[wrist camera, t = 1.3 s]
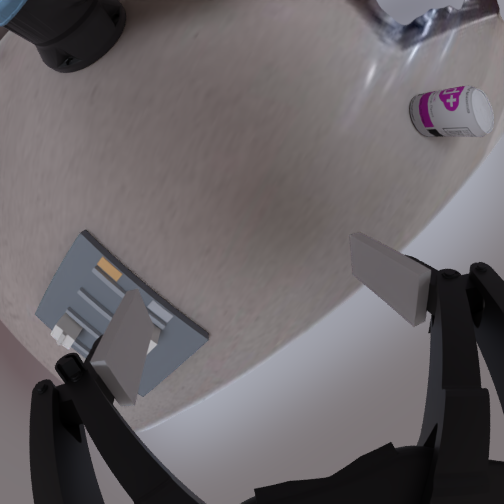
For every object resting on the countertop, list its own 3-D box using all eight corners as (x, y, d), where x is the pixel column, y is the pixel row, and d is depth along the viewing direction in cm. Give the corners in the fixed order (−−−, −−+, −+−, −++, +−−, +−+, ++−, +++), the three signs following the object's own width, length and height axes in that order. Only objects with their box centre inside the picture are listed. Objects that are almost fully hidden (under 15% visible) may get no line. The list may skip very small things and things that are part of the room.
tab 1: (59, 322, 37) (48, 336, 32) (65, 312, 36) (54, 326, 32) (76, 336, 38) (67, 352, 34) (83, 327, 38) (73, 342, 33)
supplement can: (401, 112, 37) (464, 103, 23) (418, 87, 36) (476, 75, 22) (426, 145, 39) (487, 148, 25) (441, 119, 38) (499, 117, 24)
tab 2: (130, 325, 39) (123, 342, 34) (140, 314, 38) (134, 330, 34) (150, 340, 40) (145, 357, 36) (160, 329, 40) (156, 346, 35)
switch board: (39, 309, 38) (32, 316, 35) (85, 229, 35) (77, 234, 33) (144, 390, 46) (142, 400, 43) (208, 333, 44) (208, 343, 41)
